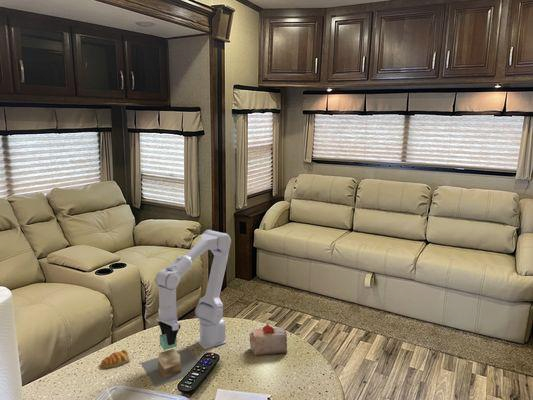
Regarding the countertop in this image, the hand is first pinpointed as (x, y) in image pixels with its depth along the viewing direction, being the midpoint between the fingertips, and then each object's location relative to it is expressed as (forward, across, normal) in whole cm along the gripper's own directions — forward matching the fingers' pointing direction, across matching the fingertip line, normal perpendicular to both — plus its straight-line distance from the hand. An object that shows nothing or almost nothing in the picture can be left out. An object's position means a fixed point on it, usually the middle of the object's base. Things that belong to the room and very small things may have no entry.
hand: (168, 341), depth 141 cm
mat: (+9, +2, +1) cm, 9 cm away
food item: (+10, +10, +35) cm, 38 cm away
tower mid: (+6, +4, -1) cm, 7 cm away
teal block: (+2, 0, 0) cm, 2 cm away
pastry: (+10, -11, -15) cm, 21 cm away
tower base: (+9, +4, -1) cm, 10 cm away
